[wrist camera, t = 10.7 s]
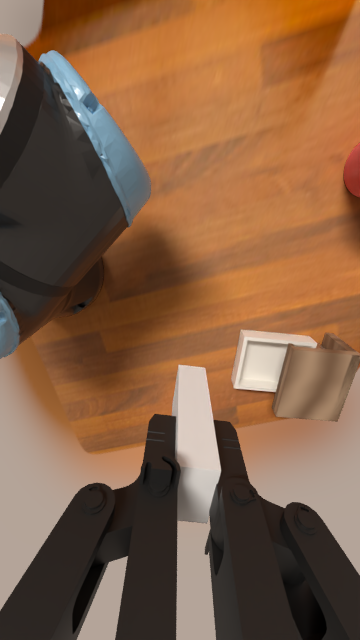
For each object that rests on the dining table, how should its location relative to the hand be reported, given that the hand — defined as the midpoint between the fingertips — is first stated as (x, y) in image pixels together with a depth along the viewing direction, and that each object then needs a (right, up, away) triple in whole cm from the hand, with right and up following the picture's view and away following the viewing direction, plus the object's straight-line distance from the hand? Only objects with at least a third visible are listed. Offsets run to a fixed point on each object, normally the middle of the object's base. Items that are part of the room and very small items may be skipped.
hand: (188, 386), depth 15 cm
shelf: (+20, -4, +33) cm, 39 cm away
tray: (+15, -3, +33) cm, 36 cm away
